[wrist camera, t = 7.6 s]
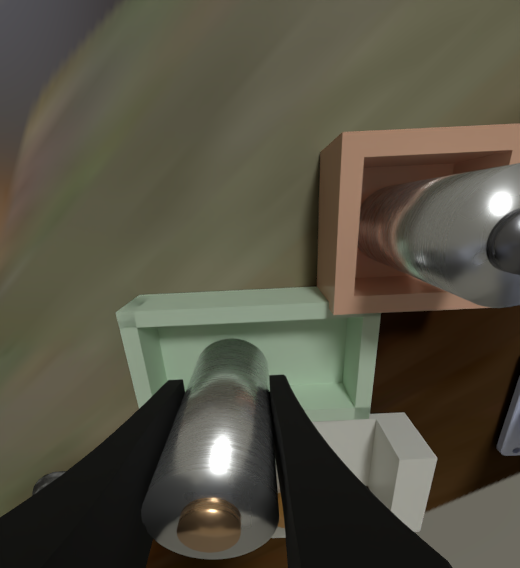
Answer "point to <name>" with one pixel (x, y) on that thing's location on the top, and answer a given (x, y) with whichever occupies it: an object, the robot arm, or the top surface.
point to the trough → (257, 343)
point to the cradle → (382, 462)
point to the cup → (381, 173)
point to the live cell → (218, 460)
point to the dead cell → (451, 233)
